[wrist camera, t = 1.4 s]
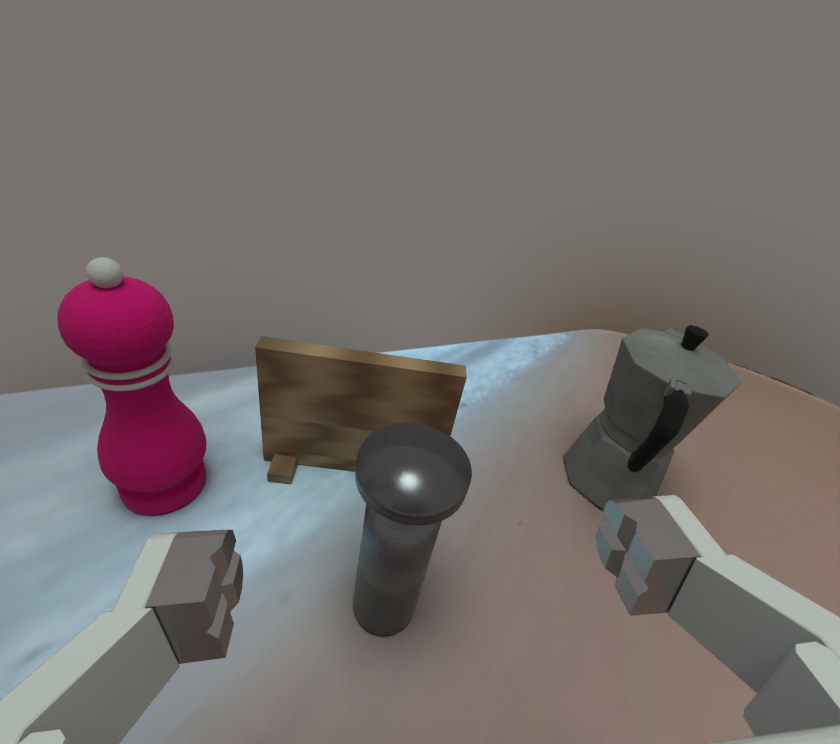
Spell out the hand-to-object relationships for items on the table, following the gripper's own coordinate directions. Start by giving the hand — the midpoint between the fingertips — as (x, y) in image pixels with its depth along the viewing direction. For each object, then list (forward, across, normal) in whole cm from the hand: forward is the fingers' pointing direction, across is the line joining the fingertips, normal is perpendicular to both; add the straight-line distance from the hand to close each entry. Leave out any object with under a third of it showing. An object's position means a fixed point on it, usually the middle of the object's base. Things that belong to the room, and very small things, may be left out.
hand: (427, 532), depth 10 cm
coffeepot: (+24, -22, +25) cm, 41 cm away
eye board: (+26, +3, +21) cm, 34 cm away
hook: (+20, 0, +22) cm, 30 cm away
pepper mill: (+23, +18, +20) cm, 36 cm away
